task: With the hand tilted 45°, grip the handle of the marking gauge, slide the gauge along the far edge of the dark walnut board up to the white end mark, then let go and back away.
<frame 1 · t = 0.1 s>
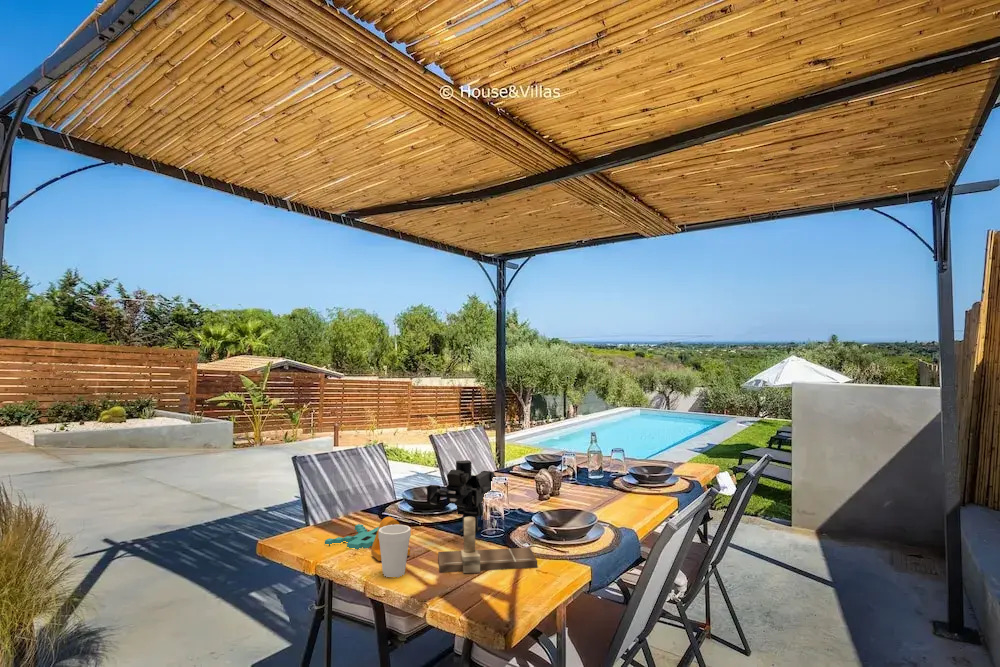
hand: (442, 502, 177), 17 cm above the table, tool horizontal, fingers open, 9 cm apart
walnut board: (486, 562, 167), on the table
alien figure: (366, 541, 189), on the table
foam cup: (393, 574, 158), on the table
bracket: (391, 557, 172), on the table
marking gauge: (470, 543, 164), point 7 cm above the table, slide at -5.5 cm
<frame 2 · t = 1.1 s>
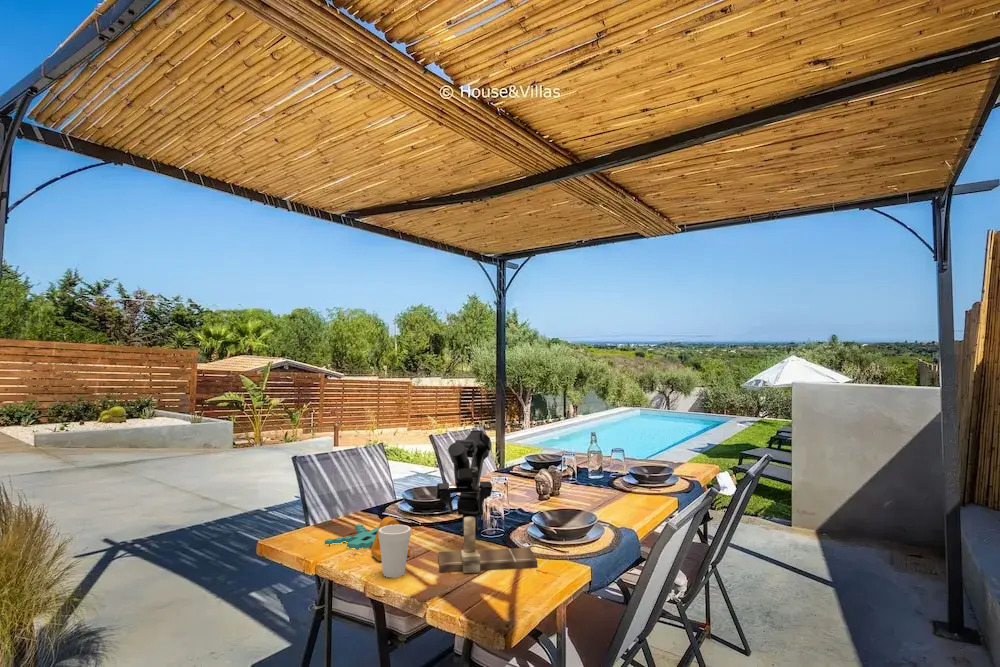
hand: (466, 512, 175), 14 cm above the table, tool tilted 45°, fingers open, 9 cm apart
nothing on the table moved.
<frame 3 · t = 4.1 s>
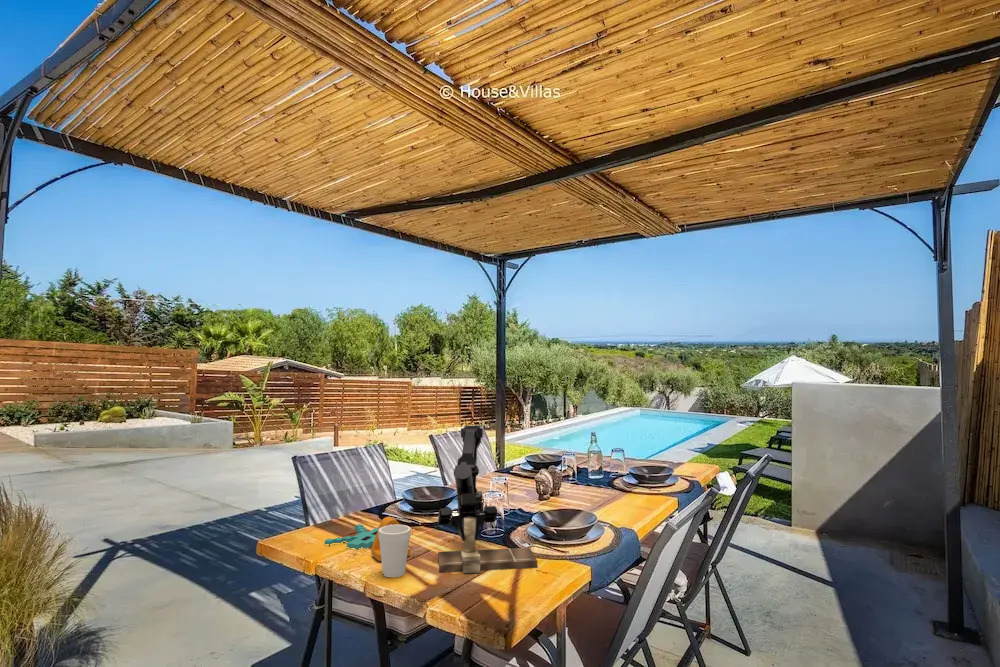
hand: (470, 540, 166), 8 cm above the table, tool tilted 45°, fingers closed on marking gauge, 4 cm apart
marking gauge: (470, 543, 164), point 7 cm above the table, slide at -5.5 cm, touching gripper
everything else where it was.
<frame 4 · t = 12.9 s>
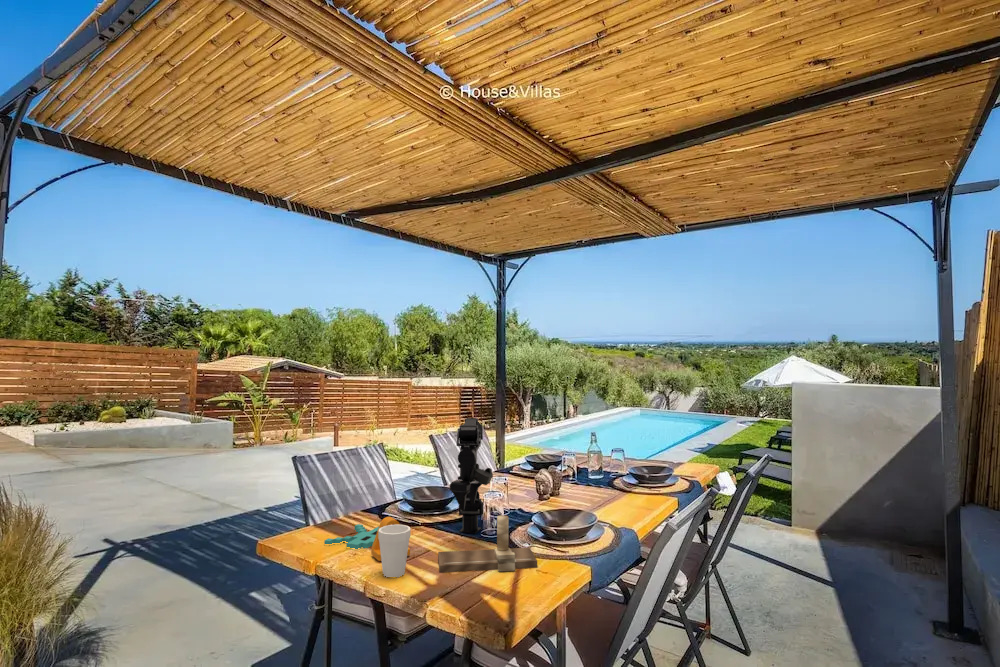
hand: (467, 506, 185), 13 cm above the table, tool pointing down, fingers open, 9 cm apart
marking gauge: (504, 542, 165), point 7 cm above the table, slide at 5.1 cm
everything else where it was.
at the end: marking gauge slide at 5.1 cm; the gripper is holding nothing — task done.
